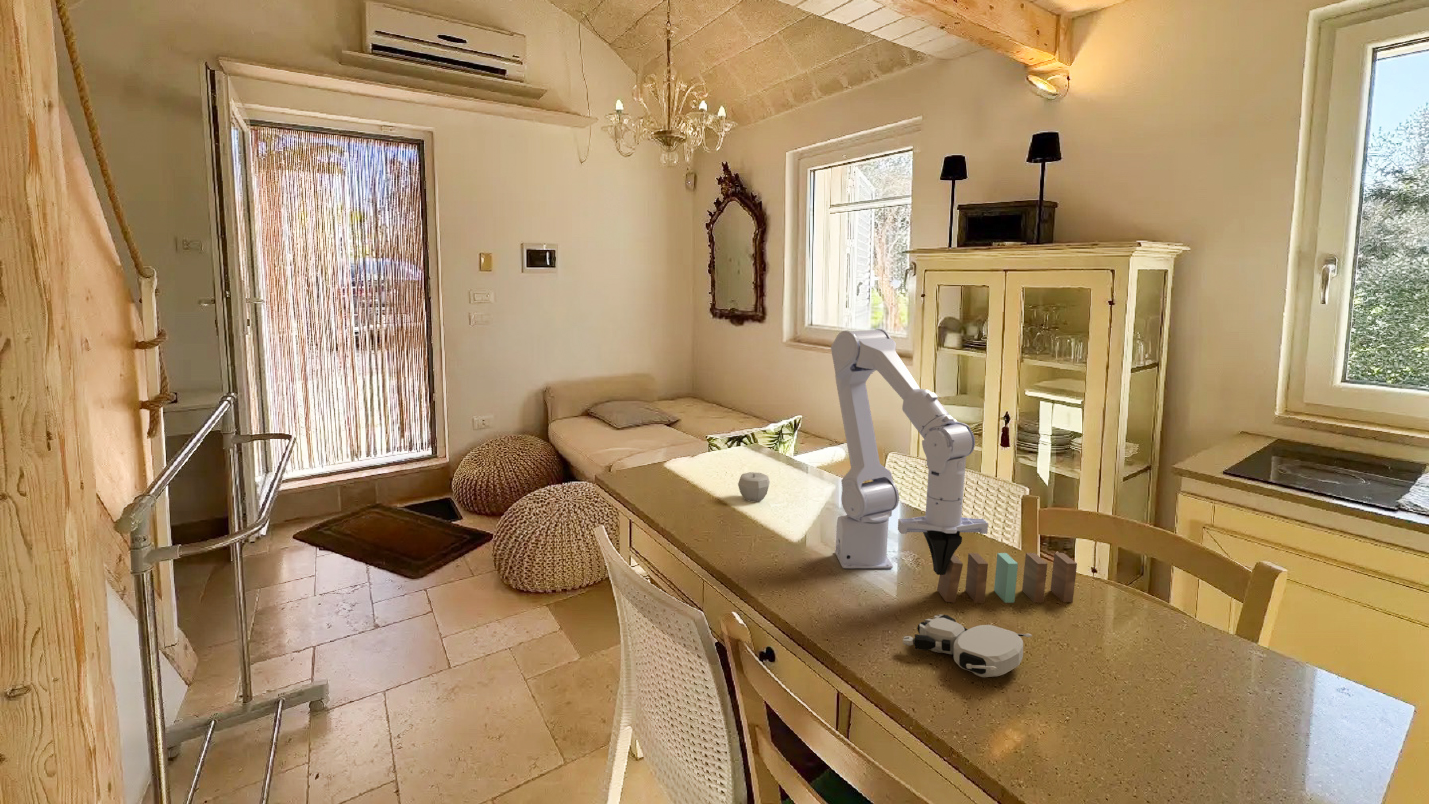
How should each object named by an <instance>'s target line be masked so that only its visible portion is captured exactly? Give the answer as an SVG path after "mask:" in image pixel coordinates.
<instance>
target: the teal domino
mask: <svg viewBox="0 0 1429 804" xmlns="http://www.w3.org/2000/svg"><path fill="white" fill-rule="evenodd" d="M995 563H996V565H995V576H994V586H993V591H994V592H995V594H996V595H997V596H998V597H999V598H1000V599H1001V600H1002V602H1003V603H1004V604H1007V603H1009V604H1011V603H1012V604H1013V603H1015V599H1016V590H1017V589H1016V588H1017V577H1018V568H1019V567H1018V566H1019V563H1018V562H1017V561H1016V560H1014V559H1013V557H1012V556H1010V555H1009V553H1007V552H997V553H996V562H995Z"/></svg>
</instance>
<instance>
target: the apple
mask: <svg viewBox="0 0 1429 804" xmlns="http://www.w3.org/2000/svg"><path fill="white" fill-rule="evenodd" d="M737 486H738V490H739V492H740V494H741V496H742V498H743V499H745V501H748V502H754V503H755V502H756V503H757V502H762V501H763V499H765V497H766V495H767V494H768V491H769V487H770V478H769V476H768V475H767V474H765V473H762V472H755V471H753V472H752V471H751V472H745V473H742V474H741V475H740V477H739V480H738V483H737Z"/></svg>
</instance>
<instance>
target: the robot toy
mask: <svg viewBox="0 0 1429 804" xmlns="http://www.w3.org/2000/svg"><path fill="white" fill-rule="evenodd" d="M917 632H918V634H916V633H915V634H914V637H912V636H910V635H908V636H907V635H904V636H903V639H902V644H903V645H904V646H908V647H910V646H914V650H920V651H929V650H930V651H931V652H935V653H937V654H940V653H943V654H947V655H953V660H954V662H955V663H956V664H957V665H958V667H960V668H961V669H963V670H965V671H969V672H972V673H973V674H974V675H976V676H978V677H980V678H988V677H999V676H1002V675H1005V674H1007V673H1008V672H1010V671H1012V670H1013V669H1015V668H1017V667H1019V666H1020V664H1021V662H1022V661H1023V656H1024V641H1023V638H1022V637H1025V638H1031V637H1032V636H1033V635H1032V634H1031V633H1017V632H1015V631H1014V630H1013V631H1012V630H1009V629H1005V628H1002V627H999V626H996V625H993V624H980V625H976V626H973V627H970V628H966V627H965V626H963V625H962V624H961V623H958V622H956V619H954V618H953V617H952V616H949V615H948V614H937V615H934V616H933V618H927V619H926V618H925V619H924V621H921V622H919V624H918V625H917Z"/></svg>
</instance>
